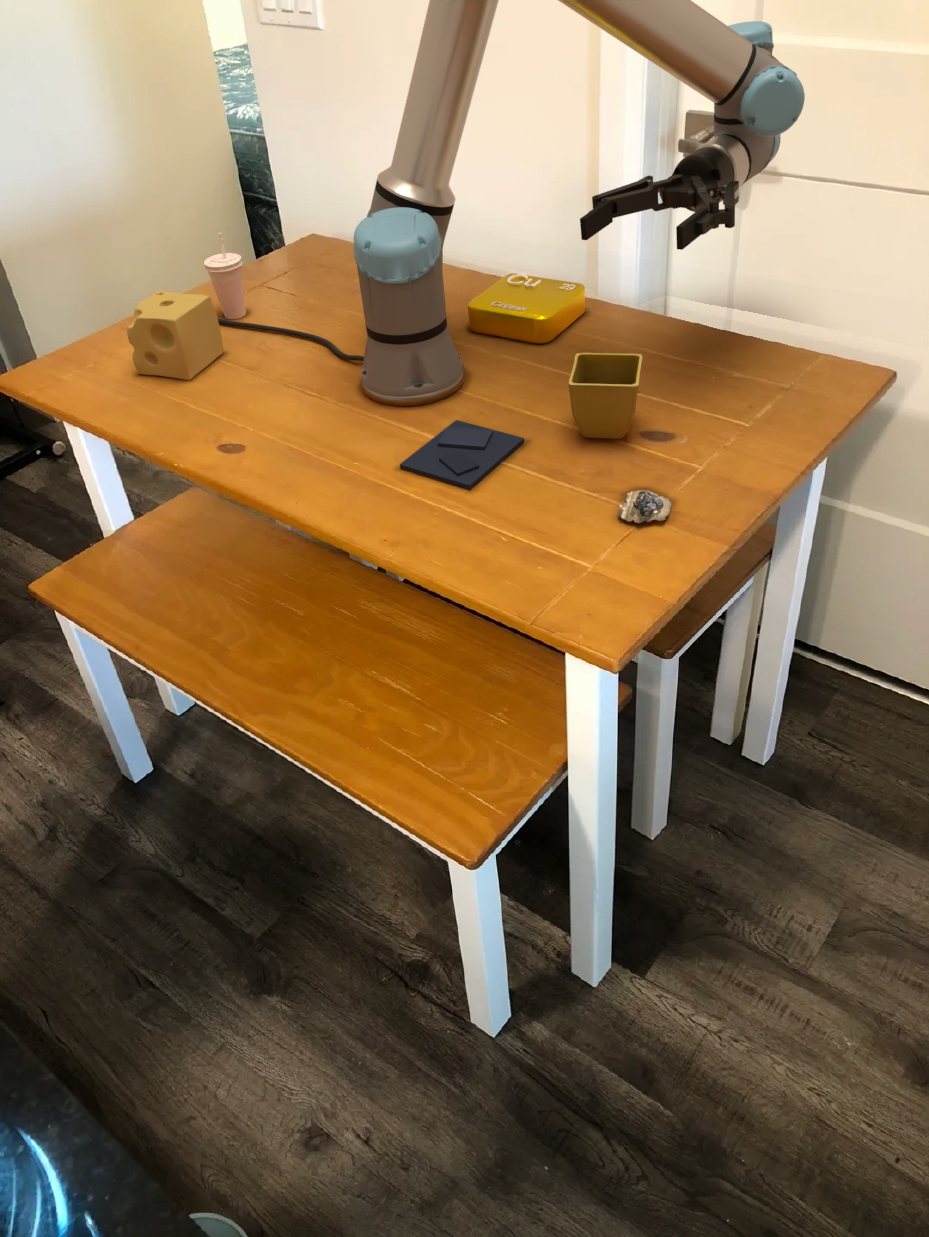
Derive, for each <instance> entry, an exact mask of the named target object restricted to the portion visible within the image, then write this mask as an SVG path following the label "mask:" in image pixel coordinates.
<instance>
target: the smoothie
mask: <svg viewBox="0 0 929 1237" xmlns="http://www.w3.org/2000/svg"><path fill="white" fill-rule="evenodd" d="M217 236H218V241H219V244H220V248H221V253H218V254H214V255H211V256H209V257H207V258H206V259H205V260H204V261H203V265H204V270H205V271H206V272H207V274H208V276H209V278H210V281H211V284H212V287H213V289H214V291H215V294H216V297H217V300H218V302H219V305H220V307H221V310H222V313H223V316H224V318H225V319H226V320H238V319H241V318H243V317H245V316H246V315H247V308H246V300H245V299H246V298H245V290H244V288H245V287H244V281H243V270H242V269H243V268H242V265H243V258H242V256H241V255H240V254H238V253H235V252H226V248H225V244H224V239H223V236H222V232H218V233H217Z"/></svg>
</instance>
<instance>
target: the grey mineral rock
mask: <svg viewBox="0 0 929 1237" xmlns="http://www.w3.org/2000/svg"><path fill="white" fill-rule="evenodd" d="M622 502H623V505H622V504H619V505H618V507H619V511H617V514H616V516H617V517H619V518H620V519H622V520H624V521H626V522H628V523H631V522H633V521H634V523H636V524H641V523H643V522H645V521H646V522H647V523H649V522H652V521H653V520H654V521H659V522H660V521H662V522H663V521H664V520H667V518H666V517H668V516H669V514H670V511H671V509H672V502H671V500H670V499H668V498H666V497H665V496H664V495H662V496H661V495H658V493H654V492H653V491H651V490H647V489H640V490H639V489H636V491H635V490H633V491H632V490H631V491H630V492H628V493H627V494H626V497H625V501H624V500H622Z"/></svg>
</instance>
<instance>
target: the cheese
mask: <svg viewBox="0 0 929 1237" xmlns="http://www.w3.org/2000/svg"><path fill="white" fill-rule="evenodd" d="M133 314H134V320H133V322H132V324H130V325H129V326H127V327H126V328H127V329H126V334H127V335H126V336H127V339H128V342H129V344H130V345H131V346H132V347H133V349H134V350H133V352H132V354H131V357H132V362H133V365H134V367H135V369H136V371H137V373H138V375H143V376H144V375H146V376H158V377H166V378H172V379H173V378H174V379H179V380H185V381H190V380H193V378H194V377H196V376H197V375H198V374H200V373H201V372H202V371H203V370H204V369H205V368H207V367H208V366H209V365H210V364H212V363H213V362H214V361H215V360H216V359H218V358H219V357H220V356H221V355H223V354H224V344H223V336H222V332H221V327H220V323H219V322H218V318H219V317H218V316H217V315H218V314H217V312H216V309H215V306H214V303H213V300H212V298H211V296H210V295H206V294H200V293H199V294H198V293H197V294H196V293H181V292H170V291H166V290H165V291H164V290H158V291H157V292H155V293H153V294H151V295H149V296H148V297H146V298H145V299H143V300H142V301H141V302H139V303H138V304H137V305H135V307H134V309H133Z"/></svg>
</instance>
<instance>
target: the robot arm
mask: <svg viewBox="0 0 929 1237" xmlns="http://www.w3.org/2000/svg"><path fill="white" fill-rule="evenodd" d="M499 1H500V0H429V1H428V6H427V10H426V15H425V18H424V23H423V27H422V31H421V36H420V40H419V44H418V49H417V53H416V57H415V61H414V65H413V70H412V73H411V74H412V75H411V79H410V82H409V86H408V92H407V96H406V99H405V105H404V109H403V113H402V117H401V122H400V125H399V130H398V134H397V138H396V144H395V146H394V150H393V151H394V152H393V155H392V160H391V164H390V166H389V167H387V168H386V169H384V170H382V171H381V172H379V173H378V175H377V178H376V182H375V187H374V190H373V196H372V200H371V204H370V208H369V209H368V212H367V215H366V217H364V218H363V219H362V220H361V221H360V222H359V223H358V224H357V225H356V227H355V230H354V232H353V250H352V252H353V257H354V260H355V265H356V269H357V275H358V283H359V287H360V288H359V290H360V295H361V302H362V309H363V317H364V324H365V329H366V330H365V331H366V344H365V348H364V349H365V350H364V354H363V355H358V354H357V355H356V354H347V353H346V352H343V351H341V350H340V349H339V348H338V347H337V346H336V345H335V344H334V343H332V342H331V341H330V340H328V339H327V338H323V337H322V336H319V335H315V334H312V333H307V332H304V331H299V330H294V329H290V328H283V327H277V326H272V325H263V324H257V323H251V322H244V321H235V320H231V319H226V318H225V319H224V318H219V317H217V318H218V322H219V324H220V325H226V326H231V327H232V326H233V327H239V328H247V329H254V330H260V331H266V332H273V333H278V334H279V333H280V334H286V335H291V336H294V337H300V338H304V339H308V340H311V341H316V342H318V343H320V344H322V345H325V346H327V347H328V348H329V349H330V350H331V351H332V352H333V353H334V354H335V355H336V356H338V357H339V358H341V359H343V360H348V361H353V362H354V361H357V362H362V367H361V371H360V372H361V373H360V380H361V387H362V391H363V393H364V394H365V396H366V397H367V398H369V399H371V400H373V401H375V402H377V403H381V404H384V405H390V406H396V407H397V406H399V407H410V406H412V407H413V406H420V405H426V404H430V403H433V402H434V403H435V402H437V401H440V400H442V399H445V398H447V397H449V396H451V395H453V394H454V393H455V392H456V391H458V390H459V389H460V388H461V387H462V385H463V383H464V382H465V368H464V364H463V360H462V359H461V356H460V355H459V353H458V351H457V349H456V345H455V343H454V341H453V338H452V336H451V333H450V331H449V327H448V318H447V307H446V294H445V285H444V275H443V274H444V271H443V270H444V269H443V268H444V267H443V264H444V263H443V262H444V261H443V260H444V258H443V257H444V254H443V250H444V245H445V240H446V236H447V232H448V229H449V225H450V222H451V217H452V215H453V214H452V213H453V210H454V207H455V203H456V196H455V194H454V192H453V191H452V190H453V189H452V188H451V187H450V181H451V177H452V175H453V170H454V166H455V162H456V159H457V155H458V151H459V147H460V146H461V141H462V137H463V134H464V129H465V127H466V124H467V119H468V114H469V111H470V107H471V104H472V100H473V97H474V92H475V89H476V85H477V82H478V78H479V75H480V71H481V66H482V63H483V60H484V56H485V53H486V49H487V45H488V41H489V37H490V35H491V30H492V26H493V22H494V19H495V16H496V12H497V8H498V5H499ZM557 1H558V2H560V3H561V4H563V5H564V6H565V7H567V8H569V9H570V10H572V11H573V12H575V13H576V14H578V15H580V16H581V17H582V18H584V19H585V20H587V21H589V22H590V23H592V24H593V25H595V26H596V27H598V28H599V29H601V30H603V31H604V32H605V33H607V34H609V35H610V36H612V37H613V38H614V39H616V40H618V41H619V42H621V43H622V44H624V45H625V46H626V47H628V48H630V49H631V50H633V51H634V52H636V53H637V54H639V55H640V56H642V57H643V58H645V59H646V60H647V61H649V62H651V63H653V64H654V65H655V66H657V67H658V68H660V69H661V70H663V71H664V72H666V73H667V74H670V76H672V77H674V78H675V79H676V80H678V81H679V82H682V83H683V84H685V85H686V86H688V87H689V88H691V89H692V90H693V91H696V93H698V94H700V95H701V96H702V97H704V98H706V99H708V100H709V101H710V102H712V103H713V137H712V138H711V139H709V140H707V141H706V142H705V143H702V145H700V146H699V147H698V148H696V149H695V150H694V151H692V152H691V153H689V154H688V155H686V156H684V157H683V158H682V159H681V160H680V161H679V162H678V163H677V165H676V167H675V168H674V169H673V172H672V174H671V175H670V176H668V177H667V178H665V179H662V180H657V181H654V176H652V175H646V176H644V177H643V178H640V179H639V180H637V181H633V182H631V183H627V184H625V185H621V186H618V187H615V188H613V189H611V190H610V189H609V190H607V191H604V192H601V193H599V194H594V195H593V196H591V202H592V209H591V210H589V211H588V212H587V213H585V214H584V215H583V216H582V217H580V218H579V223H580V224H579V225H580V236H581V237H580V238H581V240H582V241H588V240H590V239H591V238H592V237H593V236H595V235H596V234H598V233H599V232H601V231H602V230H603V229H605V228H606V227H608V226H610V224H612V223H614V219H615V218H621V217H624V216H628V215H632V214H637V213H640V212H643V211H648V210H652V211H653V212H660V211H664V210H667V209H673V210H675V209H676V210H677V209H679V208H680V209H686V210H688V211H690V212H692V214H691V215H690V216H688V217H687V218H686V219H684V220H683V221H682V222H680V223H679V224H678V225H677V226H675V230H676V232H675V236H676V250H680V251H681V250H682V251H683V250H684V249H685V248H686V247H688V246H689V245H690V244H692V243H693V242H694V241H696V239H698V238H699V237H700V236H703V235H706V234H708V233H709V232H710V231H712V230H714V229H715V230H716V229H719V227H720V225H724V228H727V229H732V228H734V227H735V226H736V205H737V204H738V203H739V202H740V187H741V186H743V185H744V184H745V183H746V182H748V181H750V180H751V179H753V177H755V176H757V175H758V174H760V173H761V172H762V171H764V170H765V168H767V166H769V164H770V163H771V162H772V161H773V159H774V158H775V157H776V155H777V154H778V152H779V150H780V146H781V139H782V138H781V134H784V133H785V132H786V131H788V130H789V129H791V128H792V127H793V125H794V124H796V122H797V121H798V119H799V117H800V116H801V114H802V112H803V109H804V104H805V99H806V98H805V97H806V96H805V94H806V93H805V89H804V86H803V83H802V82H801V80H800V78H799V77H798V74H797V73H796V72H795V71H794V70H792V69H791V68H790V67H788V66H786V65H784V64H783V63H782V62H780V61H779V59H777V58H776V57H775V56H774V55H773V51H774V47H775V44H774V41H773V37H774V36H773V28H772V27H773V26H772V25H771V24H770V23H769V22H766V21H762V20H760V21H759V20H753V21H742V22H737V23H733V24H728V25H727V24H725V23H724V22H723V21H721V20H720V19H718V18H717V17H716V16H714V15H713V14H711V13H710V12H708V11H707V10H706V9H704V8H703V7H702V6H700V5H698V4H697V3H695V2H694V1H693V0H557ZM659 196H660V199H661V202H660V203H659ZM721 202H722V205H723V207H724V208H720V203H721Z"/></svg>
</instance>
